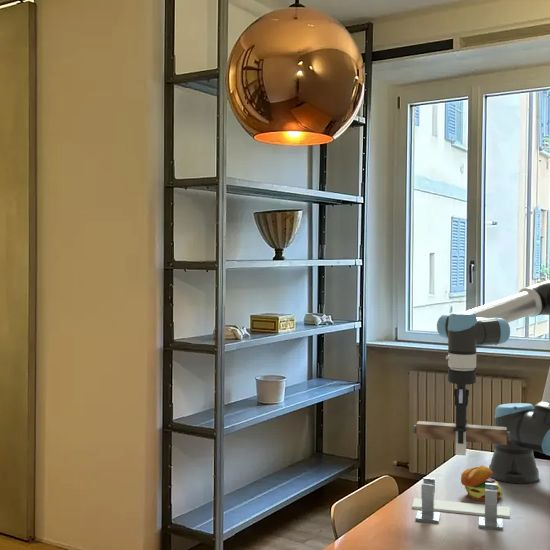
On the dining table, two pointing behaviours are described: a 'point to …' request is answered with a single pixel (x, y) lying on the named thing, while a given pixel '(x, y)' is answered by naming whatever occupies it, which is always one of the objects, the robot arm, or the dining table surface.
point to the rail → (472, 432)
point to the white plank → (462, 508)
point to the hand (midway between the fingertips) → (460, 452)
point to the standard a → (428, 502)
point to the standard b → (490, 509)
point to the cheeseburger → (478, 482)
